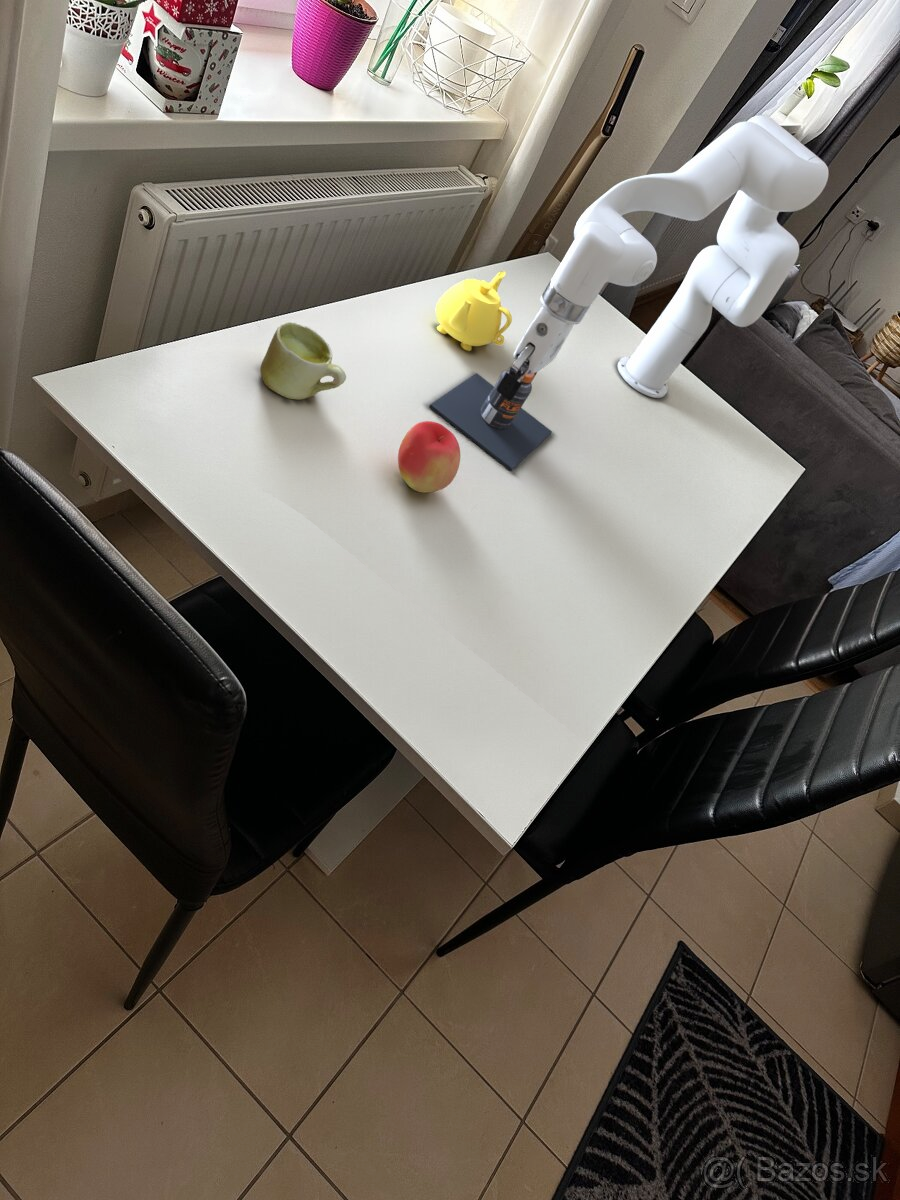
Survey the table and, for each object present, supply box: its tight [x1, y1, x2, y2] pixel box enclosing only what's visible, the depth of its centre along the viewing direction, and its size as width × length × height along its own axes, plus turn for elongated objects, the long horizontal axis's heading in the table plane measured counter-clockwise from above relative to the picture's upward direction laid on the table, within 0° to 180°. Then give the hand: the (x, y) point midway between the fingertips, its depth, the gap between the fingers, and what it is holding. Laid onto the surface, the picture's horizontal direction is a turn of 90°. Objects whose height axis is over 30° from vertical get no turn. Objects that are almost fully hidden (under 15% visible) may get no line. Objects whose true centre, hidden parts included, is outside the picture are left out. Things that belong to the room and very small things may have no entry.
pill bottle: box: [481, 366, 536, 429], centre depth 149 cm, size 6×6×11 cm
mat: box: [428, 372, 553, 472], centre depth 153 cm, size 18×18×1 cm
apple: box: [397, 420, 461, 493], centre depth 129 cm, size 10×10×10 cm
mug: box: [260, 321, 347, 400], centre depth 131 cm, size 12×10×10 cm
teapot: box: [435, 270, 513, 352], centre depth 164 cm, size 20×15×12 cm
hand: (512, 388), depth 148 cm, fingers closed on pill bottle, 5 cm apart
